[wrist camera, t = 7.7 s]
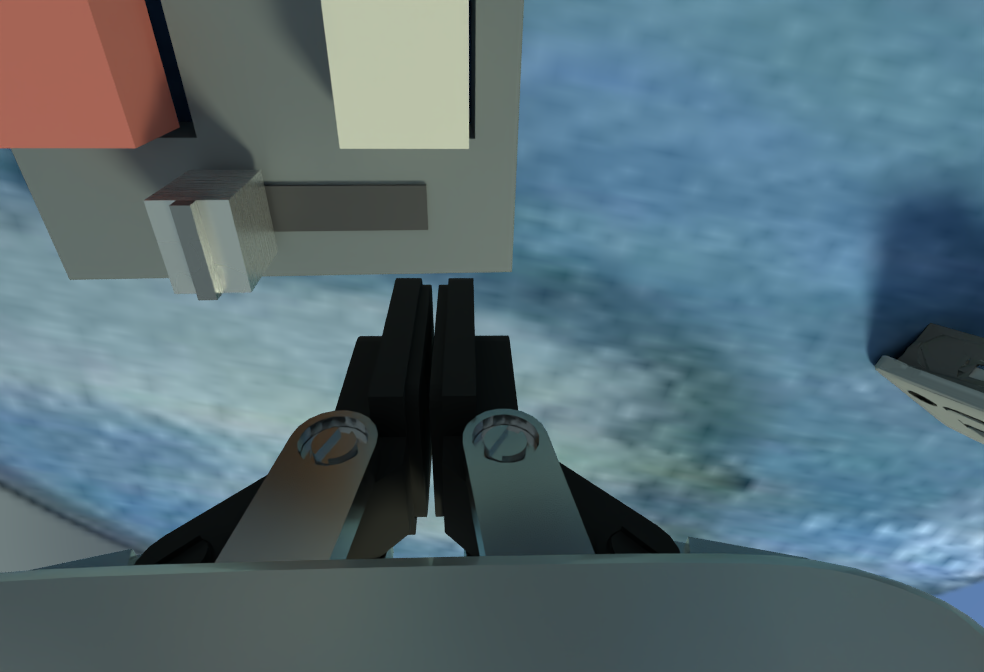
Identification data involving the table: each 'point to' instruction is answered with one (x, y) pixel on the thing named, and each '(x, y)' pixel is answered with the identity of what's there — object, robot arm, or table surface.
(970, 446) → the table surface
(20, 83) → the red button
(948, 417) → the electrical switch
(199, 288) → the grooved grey block
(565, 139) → the table surface
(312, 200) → the panel
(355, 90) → the ivory button
